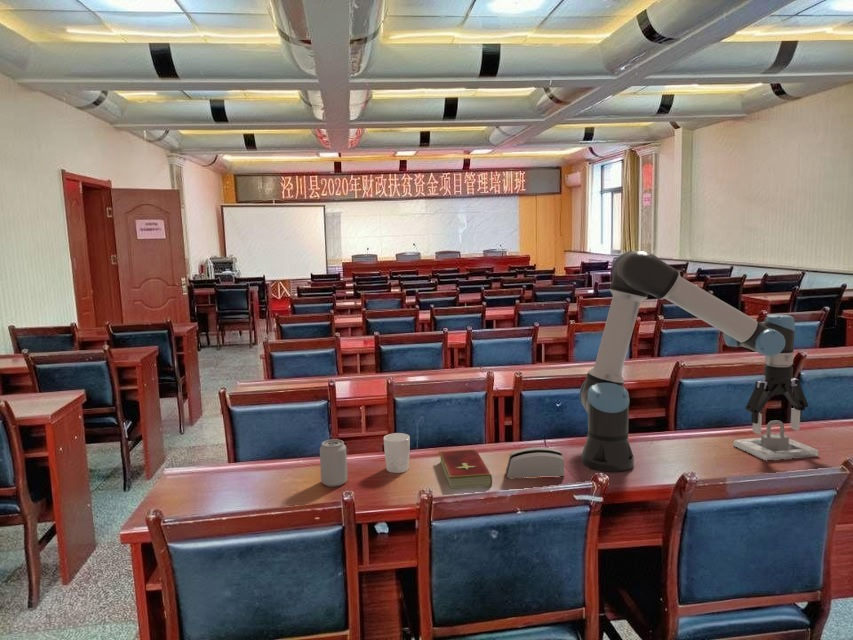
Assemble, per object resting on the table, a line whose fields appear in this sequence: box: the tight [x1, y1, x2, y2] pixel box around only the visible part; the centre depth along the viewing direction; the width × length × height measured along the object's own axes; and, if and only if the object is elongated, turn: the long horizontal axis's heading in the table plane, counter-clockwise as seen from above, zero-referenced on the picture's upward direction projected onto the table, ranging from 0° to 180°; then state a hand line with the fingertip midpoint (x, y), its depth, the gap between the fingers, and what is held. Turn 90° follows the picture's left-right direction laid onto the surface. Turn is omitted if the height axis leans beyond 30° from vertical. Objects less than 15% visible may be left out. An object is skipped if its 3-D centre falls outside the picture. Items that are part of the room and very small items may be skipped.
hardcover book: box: [438, 448, 493, 490], centre depth 169 cm, size 12×21×4 cm, turn 7°
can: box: [319, 438, 348, 488], centre depth 164 cm, size 8×8×12 cm
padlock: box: [760, 419, 790, 451], centre depth 180 cm, size 7×4×10 cm, turn 89°
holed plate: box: [732, 437, 819, 462], centre depth 181 cm, size 18×14×2 cm
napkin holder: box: [505, 447, 565, 479], centre depth 165 cm, size 17×5×10 cm, turn 92°
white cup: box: [383, 432, 411, 474], centre depth 173 cm, size 8×8×10 cm
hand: (775, 431), depth 180 cm, fingers open, 13 cm apart
